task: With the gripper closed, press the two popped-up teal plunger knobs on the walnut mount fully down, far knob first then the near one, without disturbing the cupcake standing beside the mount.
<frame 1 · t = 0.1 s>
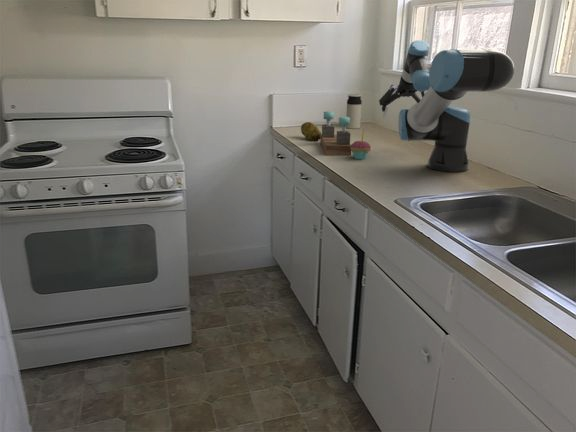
hand: (399, 116, 209), 15 cm above the worktop, tool tilted 35°, fingers open, 13 cm apart
cupcake: (359, 158, 201), on the worktop
knob near: (343, 126, 207), point 11 cm above the worktop, slide at 3.0 cm
mount: (334, 148, 218), on the worktop
knob far: (328, 120, 221), point 11 cm above the worktop, slide at 3.0 cm
travel mug: (352, 128, 269), on the worktop
potato: (310, 139, 237), on the worktop
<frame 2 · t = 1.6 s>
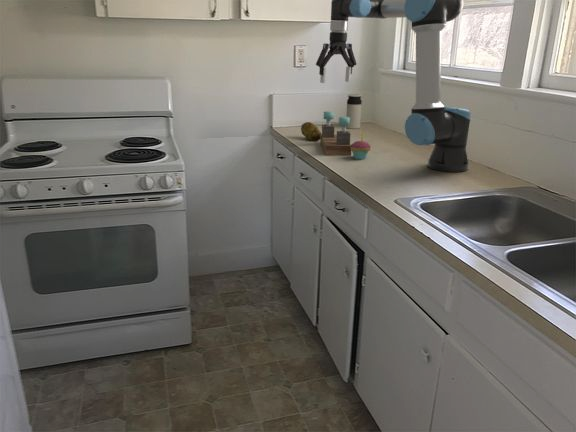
hand: (335, 82, 215), 28 cm above the worktop, tool pointing down, fingers open, 13 cm apart
nothing on the worktop moved.
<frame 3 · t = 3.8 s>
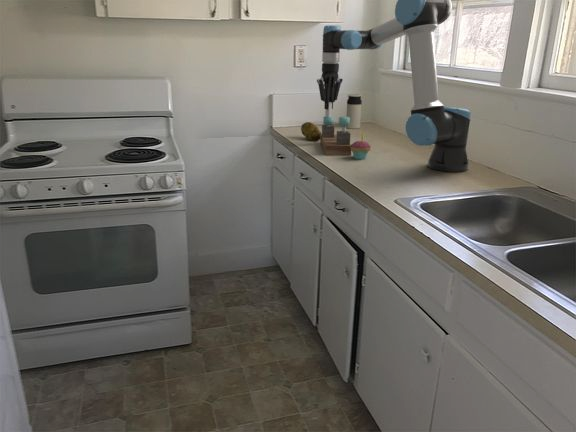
hand: (328, 116, 221), 13 cm above the worktop, tool pointing down, fingers closed
knob far: (328, 125, 222), point 9 cm above the worktop, slide at 0.8 cm, touching gripper
everything else where it was.
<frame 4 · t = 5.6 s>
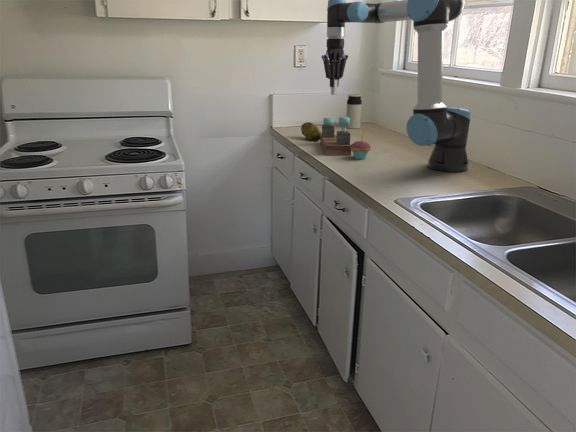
hand: (333, 94, 213), 24 cm above the worktop, tool pointing down, fingers closed
knob far: (328, 127, 222), point 8 cm above the worktop, slide at 0.0 cm
everything else where it was.
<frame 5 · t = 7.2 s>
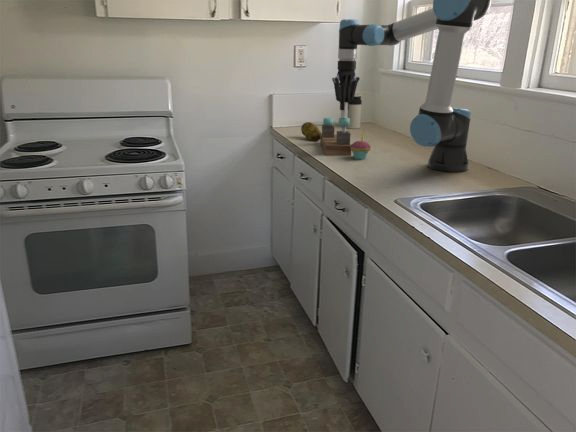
hand: (343, 117, 205), 15 cm above the worktop, tool pointing down, fingers closed
knob near: (343, 127, 207), point 11 cm above the worktop, slide at 2.7 cm, touching gripper
everything else where it was.
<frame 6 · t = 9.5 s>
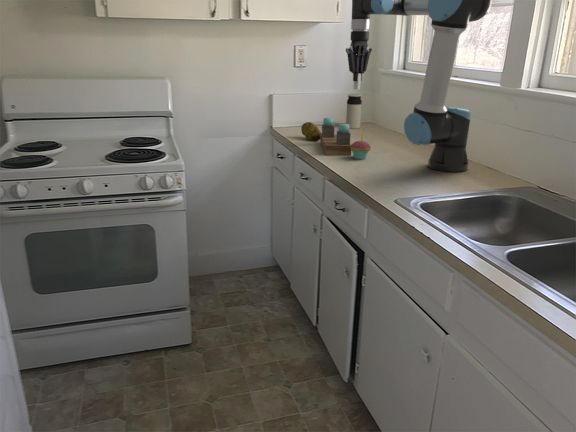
hand: (356, 89, 207), 27 cm above the worktop, tool pointing down, fingers closed
knob near: (343, 133, 208), point 8 cm above the worktop, slide at 0.0 cm
everything else where it was.
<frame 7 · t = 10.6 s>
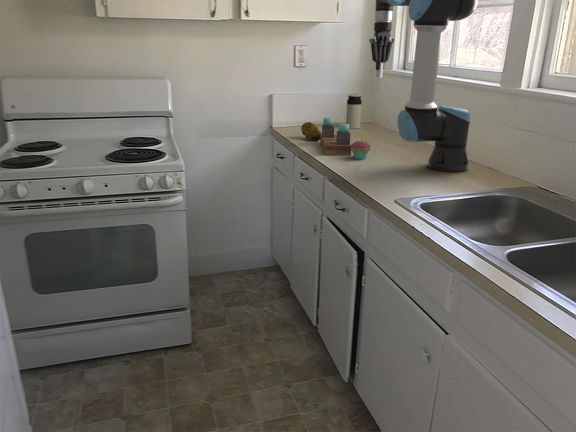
hand: (379, 77, 219), 30 cm above the worktop, tool pointing down, fingers closed
nothing on the worktop moved.
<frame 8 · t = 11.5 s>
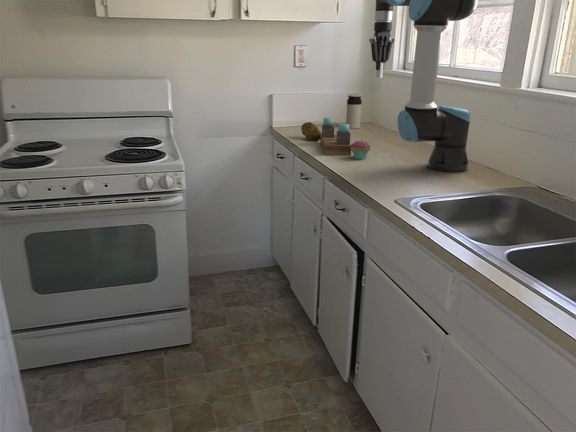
hand: (379, 77, 219), 30 cm above the worktop, tool pointing down, fingers closed
nothing on the worktop moved.
at the end: knob far slide at 0.0 cm; knob near slide at 0.0 cm; cupcake moved 0.2 cm from its start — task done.
